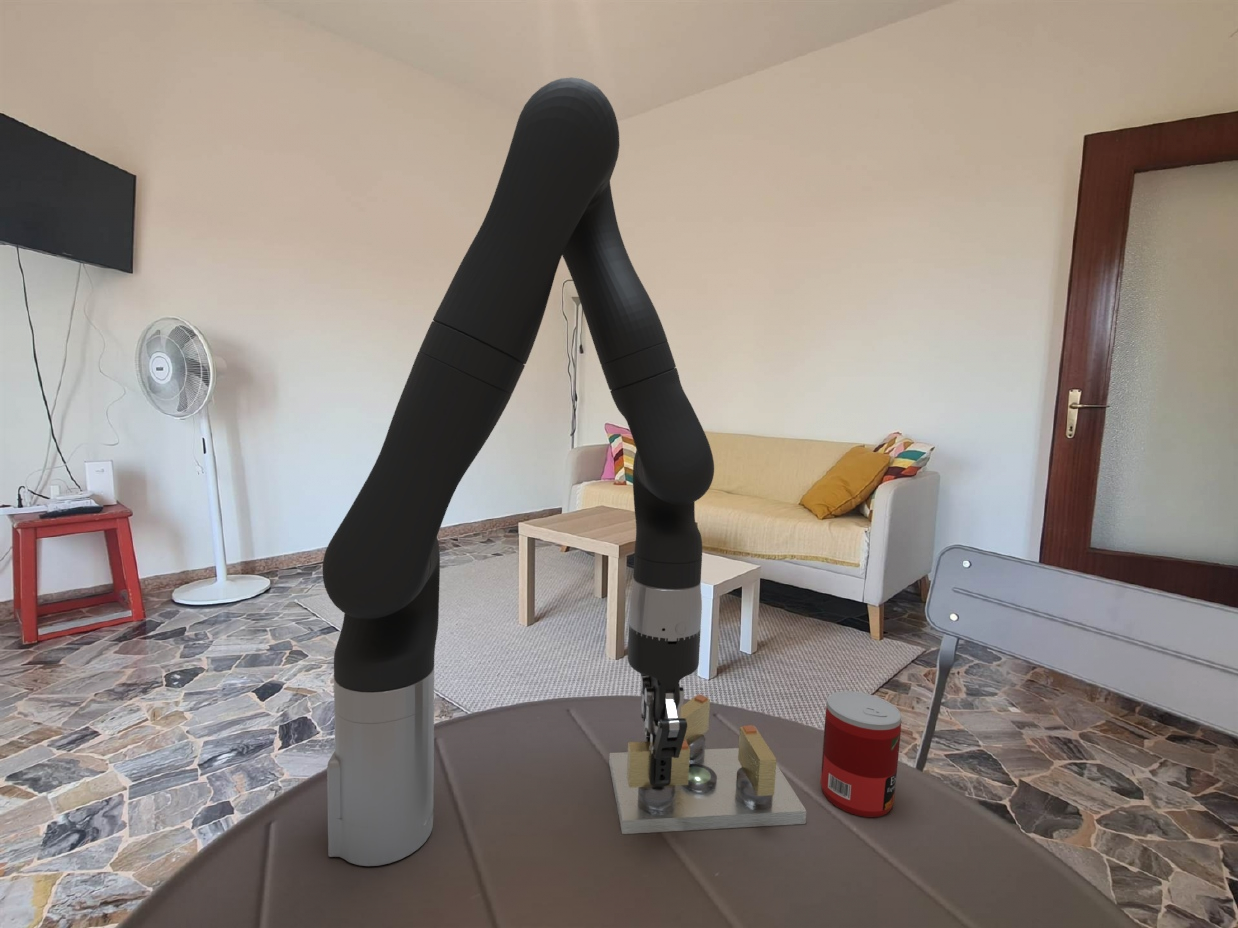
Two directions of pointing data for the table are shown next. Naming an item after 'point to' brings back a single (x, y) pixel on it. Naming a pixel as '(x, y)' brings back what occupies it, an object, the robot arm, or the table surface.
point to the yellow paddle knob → (696, 726)
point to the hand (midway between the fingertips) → (657, 776)
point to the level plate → (704, 799)
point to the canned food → (860, 753)
